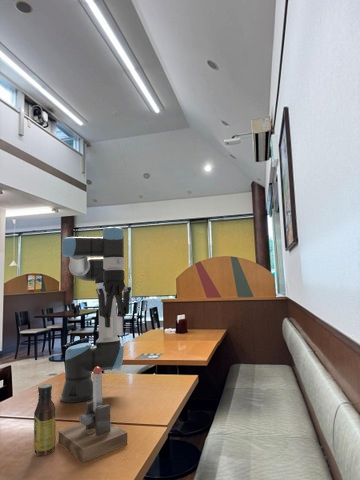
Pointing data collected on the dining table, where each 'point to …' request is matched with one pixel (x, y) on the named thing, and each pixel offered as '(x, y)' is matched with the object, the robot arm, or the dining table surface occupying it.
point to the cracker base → (93, 436)
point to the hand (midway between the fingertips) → (114, 335)
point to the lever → (94, 398)
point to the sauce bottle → (44, 422)
